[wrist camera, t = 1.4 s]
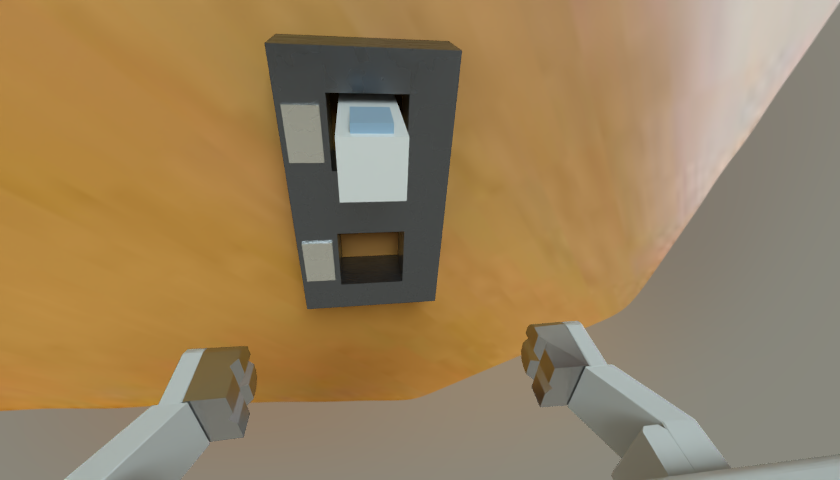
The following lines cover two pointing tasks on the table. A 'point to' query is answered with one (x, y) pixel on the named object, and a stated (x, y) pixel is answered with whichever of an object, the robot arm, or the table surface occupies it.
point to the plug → (371, 148)
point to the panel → (317, 166)
